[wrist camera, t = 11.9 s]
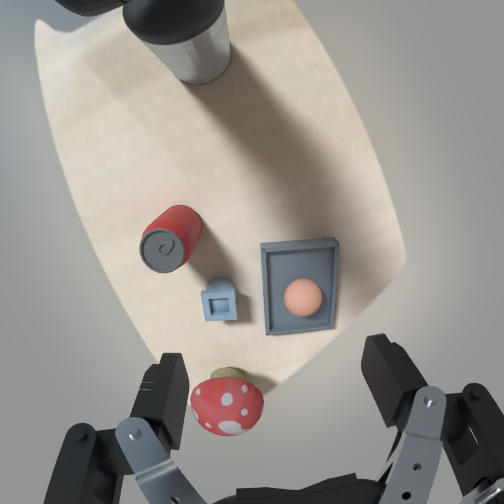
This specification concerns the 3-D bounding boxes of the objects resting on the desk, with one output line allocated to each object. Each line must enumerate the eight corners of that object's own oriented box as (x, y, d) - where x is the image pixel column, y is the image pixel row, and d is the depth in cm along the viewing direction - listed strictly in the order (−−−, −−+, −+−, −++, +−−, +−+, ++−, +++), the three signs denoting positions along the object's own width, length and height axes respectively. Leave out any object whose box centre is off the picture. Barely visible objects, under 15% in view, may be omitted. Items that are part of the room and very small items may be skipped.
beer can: (210, 226, 43) (200, 254, 32) (180, 252, 44) (162, 287, 33) (182, 195, 41) (161, 212, 30) (153, 222, 43) (125, 248, 31)
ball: (281, 273, 45) (286, 291, 40) (317, 270, 45) (327, 287, 40) (282, 305, 47) (286, 325, 42) (316, 301, 47) (325, 321, 42)
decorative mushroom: (274, 373, 54) (282, 430, 40) (227, 400, 57) (226, 454, 43) (229, 336, 51) (226, 397, 36) (182, 368, 53) (170, 425, 39)
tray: (260, 243, 44) (261, 248, 42) (334, 237, 44) (338, 242, 42) (265, 327, 50) (266, 335, 48) (329, 320, 50) (333, 327, 48)
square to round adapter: (204, 278, 46) (200, 293, 42) (235, 276, 46) (234, 291, 42) (208, 305, 48) (205, 321, 43) (238, 303, 48) (237, 319, 43)
